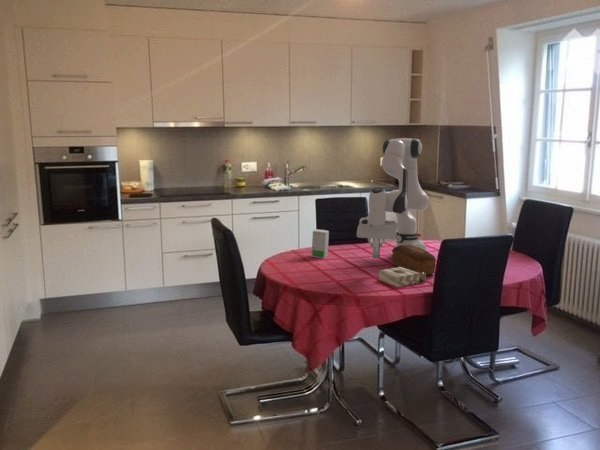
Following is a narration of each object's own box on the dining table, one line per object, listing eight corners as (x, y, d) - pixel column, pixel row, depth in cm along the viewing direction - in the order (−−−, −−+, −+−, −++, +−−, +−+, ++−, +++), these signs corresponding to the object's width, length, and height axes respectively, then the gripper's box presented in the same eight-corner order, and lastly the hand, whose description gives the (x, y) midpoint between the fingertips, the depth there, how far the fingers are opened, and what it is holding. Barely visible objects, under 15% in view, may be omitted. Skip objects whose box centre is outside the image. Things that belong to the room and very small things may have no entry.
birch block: (399, 276, 299) (400, 266, 298) (418, 282, 287) (419, 273, 286) (378, 280, 291) (379, 270, 290) (397, 287, 280) (398, 277, 279)
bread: (409, 262, 327) (410, 241, 325) (438, 275, 301) (440, 252, 299) (388, 264, 322) (389, 243, 320) (415, 278, 296) (417, 254, 294)
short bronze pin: (421, 280, 292) (422, 271, 291) (427, 281, 289) (427, 273, 288) (416, 281, 290) (417, 272, 289) (421, 283, 287) (422, 274, 286)
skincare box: (311, 257, 336) (311, 230, 333) (315, 254, 342) (315, 228, 339) (324, 258, 333) (325, 232, 330) (328, 256, 339) (329, 230, 336)
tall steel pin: (376, 256, 300) (376, 233, 297) (380, 257, 297) (381, 234, 294) (370, 257, 298) (371, 234, 295) (375, 258, 295) (376, 235, 292)
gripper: (397, 219, 294) (397, 246, 297) (357, 218, 298) (357, 244, 301) (397, 222, 288) (396, 249, 291) (356, 220, 292) (355, 247, 295)
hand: (376, 246), depth 296 cm, fingers closed on tall steel pin, 4 cm apart
